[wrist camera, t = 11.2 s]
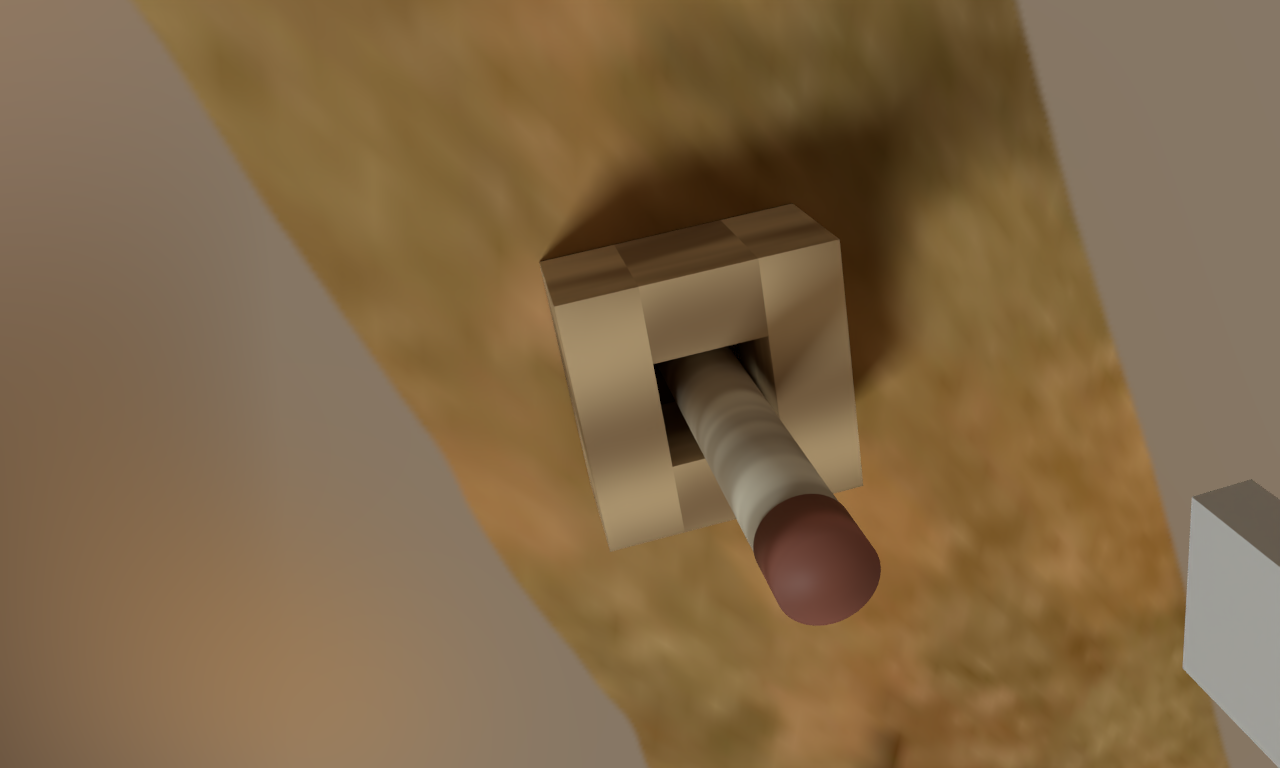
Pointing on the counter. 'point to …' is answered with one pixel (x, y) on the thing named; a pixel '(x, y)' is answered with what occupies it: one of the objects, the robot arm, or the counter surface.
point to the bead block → (693, 323)
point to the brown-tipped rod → (774, 491)
